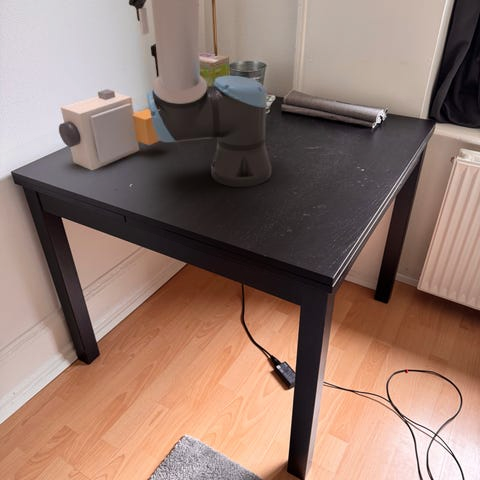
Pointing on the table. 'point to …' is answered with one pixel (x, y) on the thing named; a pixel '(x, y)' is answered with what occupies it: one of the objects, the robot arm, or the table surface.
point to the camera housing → (89, 127)
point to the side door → (121, 131)
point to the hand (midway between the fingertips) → (166, 35)
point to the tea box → (213, 67)
